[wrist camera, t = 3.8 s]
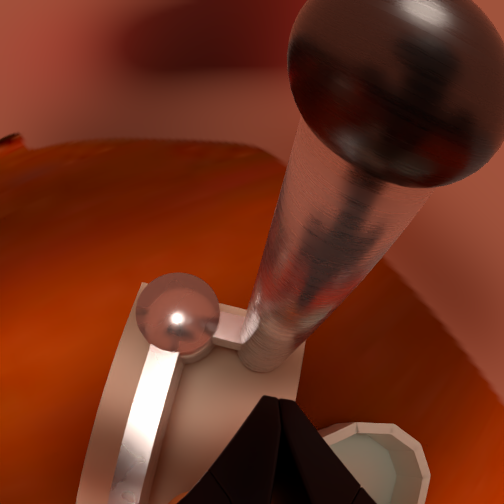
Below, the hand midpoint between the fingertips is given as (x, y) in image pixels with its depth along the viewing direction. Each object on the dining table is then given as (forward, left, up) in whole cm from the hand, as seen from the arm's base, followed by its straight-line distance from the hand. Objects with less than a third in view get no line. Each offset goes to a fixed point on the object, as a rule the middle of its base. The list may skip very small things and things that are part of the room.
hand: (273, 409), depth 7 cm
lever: (-2, +3, -6) cm, 7 cm away
